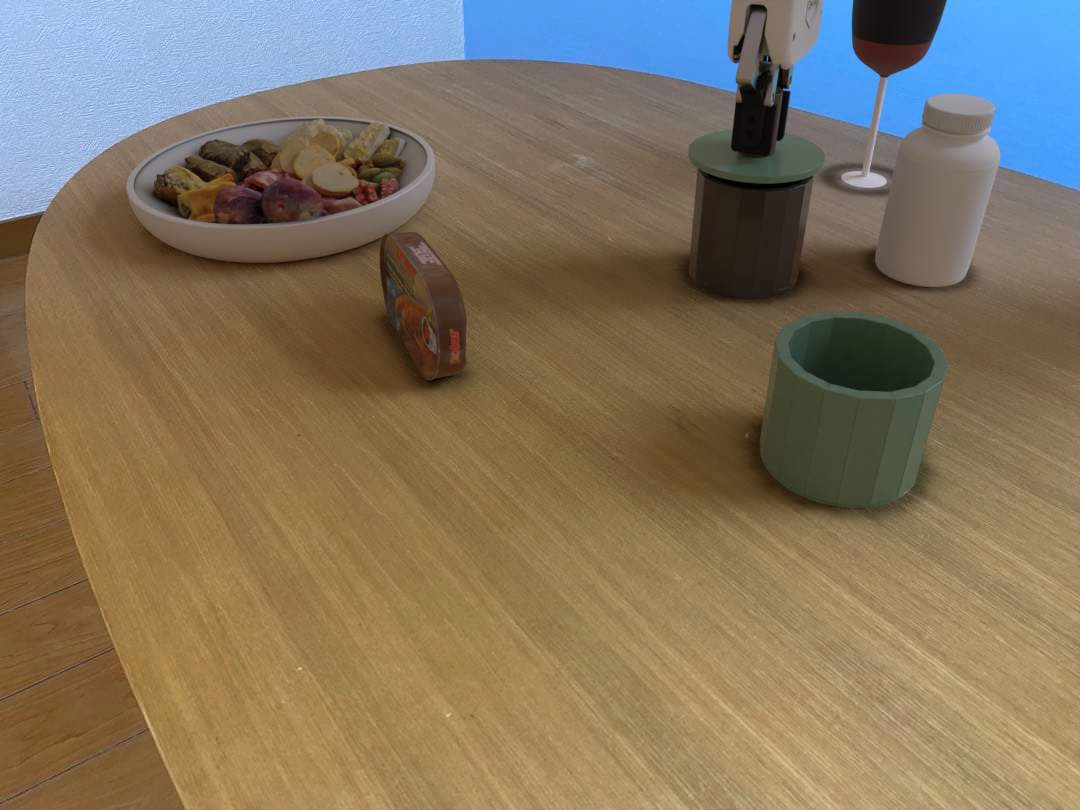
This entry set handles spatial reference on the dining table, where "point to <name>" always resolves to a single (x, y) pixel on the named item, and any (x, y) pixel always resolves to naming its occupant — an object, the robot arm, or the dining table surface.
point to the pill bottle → (939, 193)
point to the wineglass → (889, 54)
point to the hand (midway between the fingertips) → (757, 142)
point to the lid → (757, 157)
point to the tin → (423, 304)
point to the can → (850, 407)
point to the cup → (748, 236)
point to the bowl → (282, 188)
